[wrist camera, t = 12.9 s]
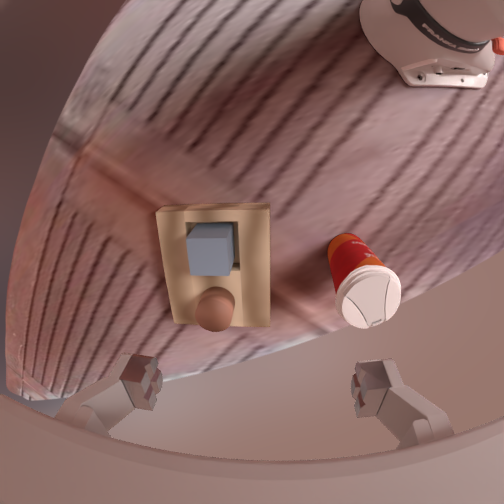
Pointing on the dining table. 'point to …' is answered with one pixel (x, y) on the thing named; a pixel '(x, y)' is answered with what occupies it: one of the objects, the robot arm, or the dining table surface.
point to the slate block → (211, 249)
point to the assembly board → (218, 287)
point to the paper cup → (362, 283)
